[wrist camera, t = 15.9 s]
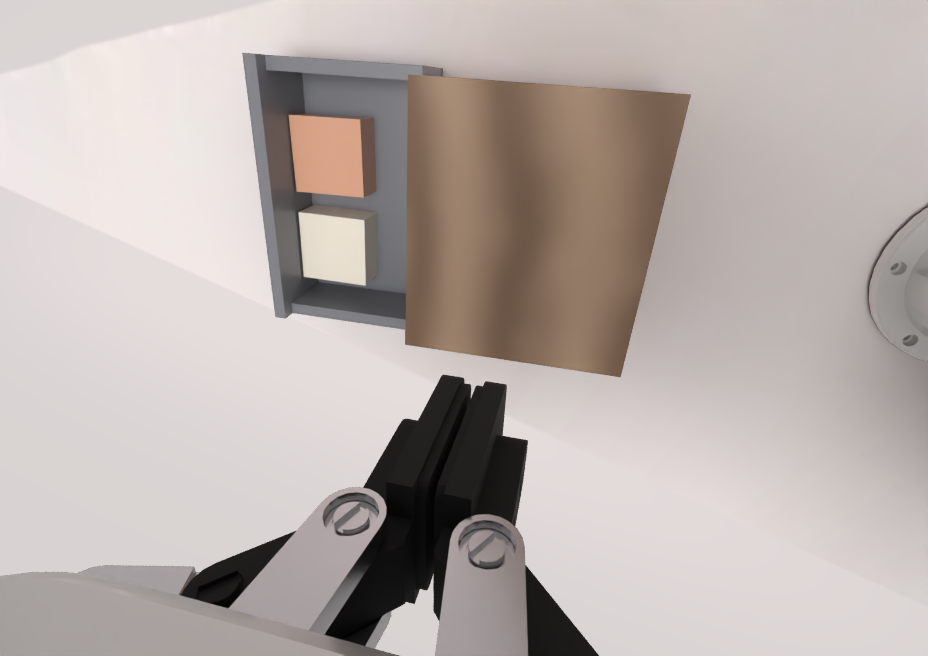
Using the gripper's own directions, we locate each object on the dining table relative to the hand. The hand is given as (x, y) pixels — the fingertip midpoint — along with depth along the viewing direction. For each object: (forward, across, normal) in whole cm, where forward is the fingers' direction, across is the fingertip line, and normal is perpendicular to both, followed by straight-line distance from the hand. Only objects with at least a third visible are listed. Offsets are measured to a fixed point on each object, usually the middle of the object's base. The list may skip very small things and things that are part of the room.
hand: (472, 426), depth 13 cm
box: (+25, +13, 0) cm, 28 cm away
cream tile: (+22, +15, +3) cm, 27 cm away
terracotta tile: (+22, +15, -3) cm, 27 cm away
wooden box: (+25, +1, 0) cm, 25 cm away
